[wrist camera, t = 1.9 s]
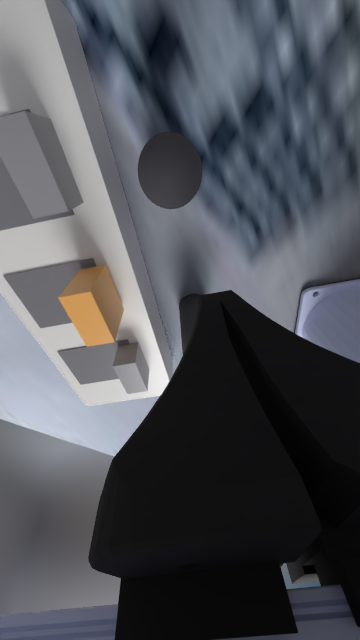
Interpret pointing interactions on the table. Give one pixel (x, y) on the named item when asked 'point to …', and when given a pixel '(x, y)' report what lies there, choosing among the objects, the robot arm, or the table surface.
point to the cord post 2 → (188, 317)
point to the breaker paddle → (93, 305)
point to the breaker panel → (68, 209)
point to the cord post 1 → (169, 170)
